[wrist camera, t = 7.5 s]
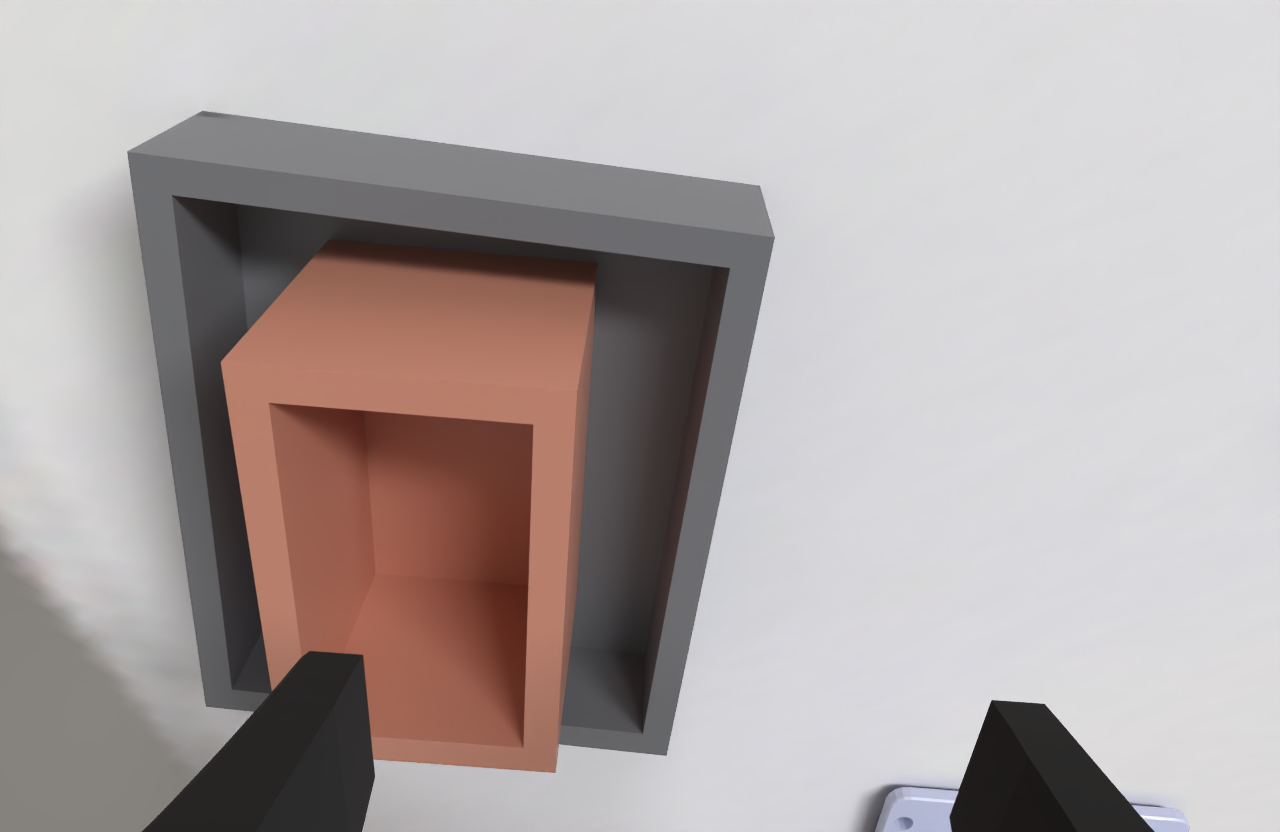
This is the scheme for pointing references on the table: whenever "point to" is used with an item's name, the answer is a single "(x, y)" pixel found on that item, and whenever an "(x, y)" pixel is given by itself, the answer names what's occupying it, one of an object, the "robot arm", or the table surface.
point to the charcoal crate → (486, 223)
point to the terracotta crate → (422, 487)
